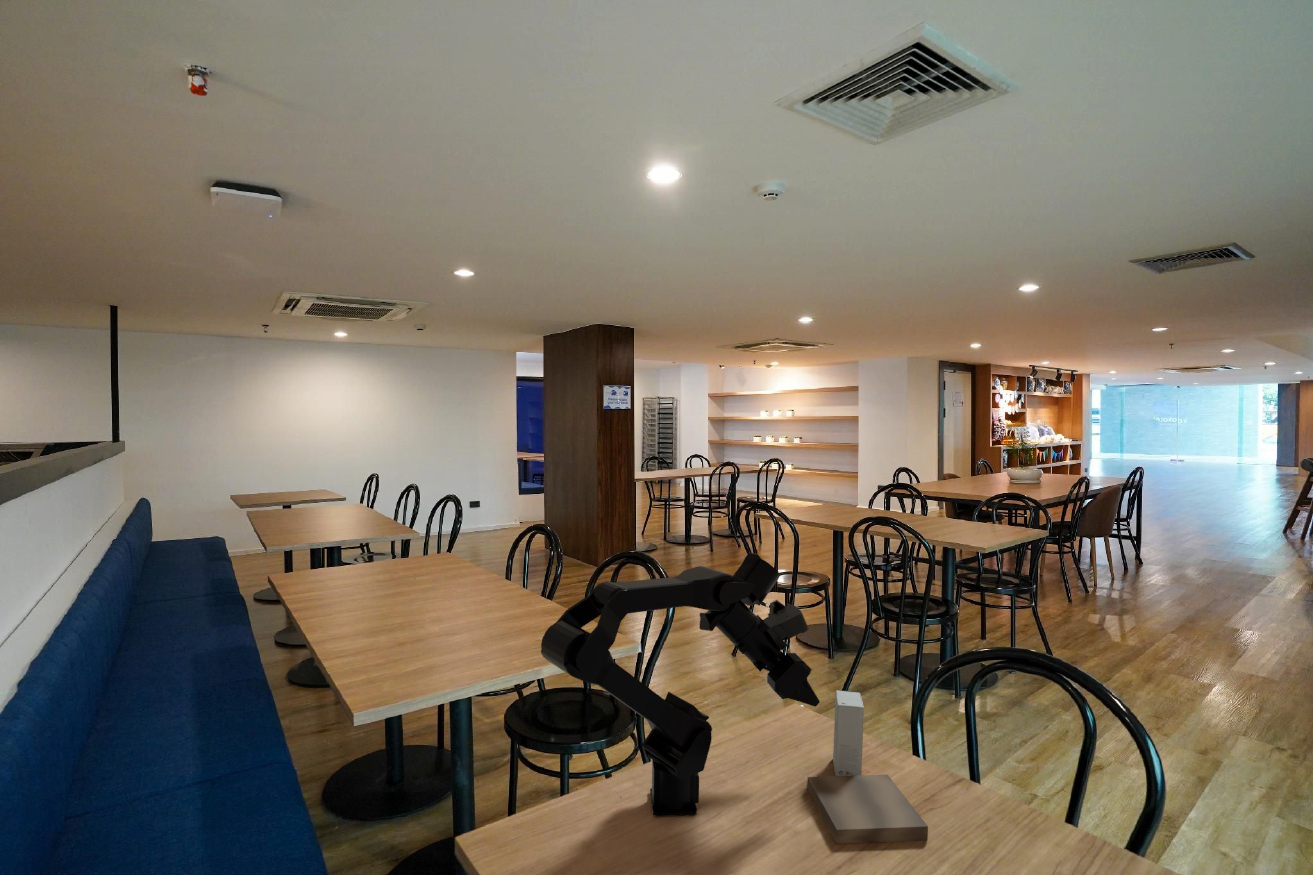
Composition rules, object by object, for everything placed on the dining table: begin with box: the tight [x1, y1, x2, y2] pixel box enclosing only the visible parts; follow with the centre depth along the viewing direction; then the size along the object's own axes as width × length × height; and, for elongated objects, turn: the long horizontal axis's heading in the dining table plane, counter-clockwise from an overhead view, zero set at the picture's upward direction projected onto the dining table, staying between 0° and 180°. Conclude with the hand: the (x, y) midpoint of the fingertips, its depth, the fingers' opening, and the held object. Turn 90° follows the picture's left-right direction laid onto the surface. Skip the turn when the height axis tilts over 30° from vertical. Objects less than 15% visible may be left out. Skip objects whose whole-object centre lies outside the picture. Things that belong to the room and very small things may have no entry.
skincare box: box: [832, 689, 865, 776], centre depth 110 cm, size 6×4×12 cm
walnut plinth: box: [806, 774, 929, 845], centre depth 98 cm, size 13×13×2 cm
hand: (805, 691), depth 108 cm, fingers open, 9 cm apart
